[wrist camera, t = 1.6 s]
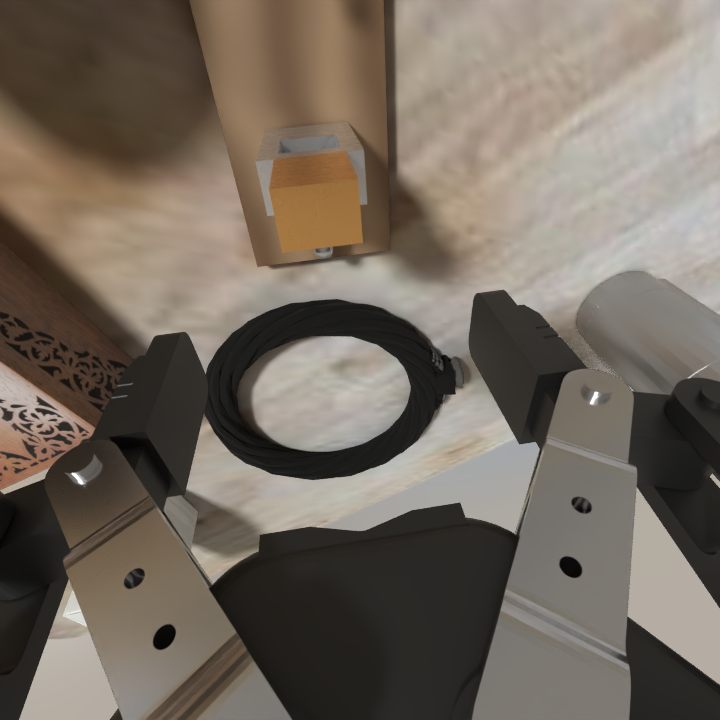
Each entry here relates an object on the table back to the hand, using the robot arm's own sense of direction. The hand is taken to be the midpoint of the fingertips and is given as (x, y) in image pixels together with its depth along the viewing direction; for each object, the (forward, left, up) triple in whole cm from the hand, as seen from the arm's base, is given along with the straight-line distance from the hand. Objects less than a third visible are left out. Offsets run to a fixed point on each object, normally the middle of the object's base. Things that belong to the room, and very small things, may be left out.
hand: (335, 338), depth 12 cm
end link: (0, +3, -24) cm, 24 cm away
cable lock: (+1, +27, -27) cm, 38 cm away
